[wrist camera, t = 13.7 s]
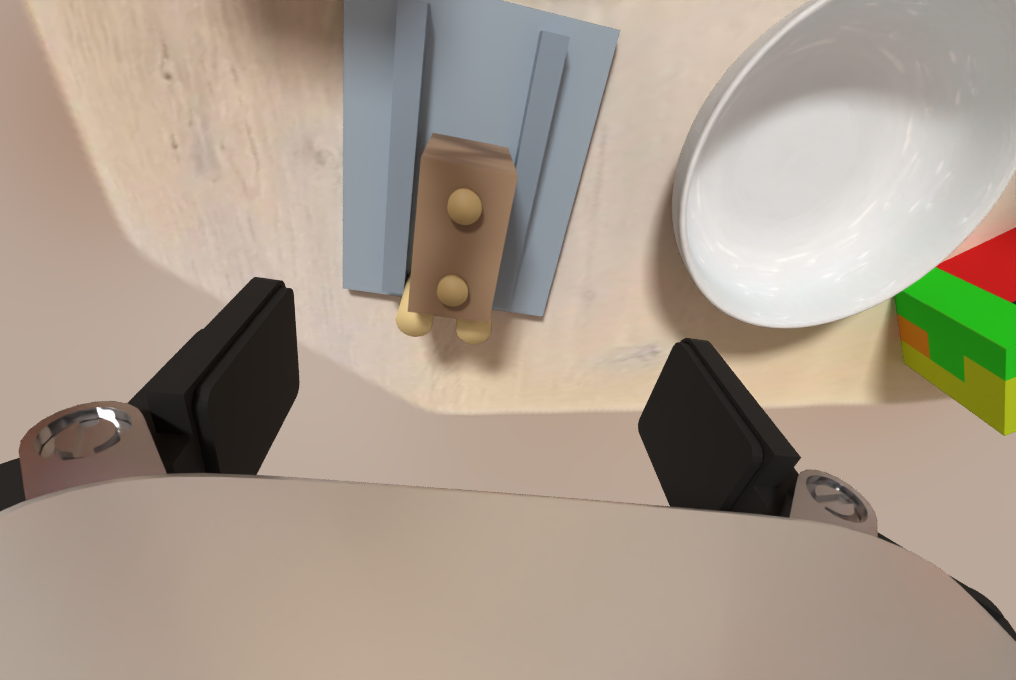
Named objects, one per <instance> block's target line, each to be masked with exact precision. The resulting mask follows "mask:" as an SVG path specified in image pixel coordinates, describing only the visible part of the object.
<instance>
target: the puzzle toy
mask: <svg viewBox="0 0 1016 680" xmlns="http://www.w3.org/2000/svg"><path fill="white" fill-rule="evenodd" d="M895 302H896V309H897V316H898V323H899V330H900V337H901V344H902V351H903V358H904V363H905V364H906V365H907V366H909V367H910V368H912V369H913V370H914V371H916V372H917V373H918V374H920V375H921V376H923V377H924V378H925V379H927V380H928V381H929V382H931V383H932V384H934V385H935V386H936V387H938V388H939V389H940V390H942V391H943V392H945V393H946V394H947V395H949V396H950V397H951V398H953V399H954V400H956V401H957V402H958V403H960V404H961V405H963V406H964V407H965V408H967V409H968V410H969V411H971V412H972V413H973V414H975V415H976V416H978V417H979V418H980V419H982V420H983V421H984V422H986V423H987V424H989V425H990V426H991V427H993V428H994V429H995V430H997V431H998V432H1000V433H1001V434H1002V435H1004V436H1006V435H1008V434H1011V433H1013V432H1016V228H1014V229H1012V230H1010V231H1007V232H1005V233H1003V234H1001V235H999V236H997V237H995V238H993V239H991V240H989V241H986V242H984V243H982V244H980V245H978V246H976V247H974V248H972V249H970V250H967V251H965V252H963V253H961V254H959V255H957V256H955V257H953V258H951V259H949V260H946V261H944V262H942V263H940V264H938V265H937V266H936V267H935V268H934V269H932V270H931V271H930V272H928V273H927V274H926V275H925V276H923V277H922V278H920V279H919V280H918V281H916V282H915V283H913V284H912V285H910V286H909V287H907V288H906V289H904V290H903V291H901V292H899V293H898V294H896V295H895Z"/></svg>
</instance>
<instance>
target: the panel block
mask: <svg viewBox="0 0 1016 680" xmlns="http://www.w3.org/2000/svg"><path fill="white" fill-rule="evenodd" d="M517 177H518V174H517V171H516V169H515V166H514V163H513V160H512V157H511V155H510V152H509V149H508V147H503V146H498V145H493V144H488V143H483V142H478V141H473V140H468V139H463V138H458V137H453V136H448V135H442V134H437V133H432V135H431V137H430V140H429V142H428V144H427V146H426V148H425V150H424V152H423V154H422V156H421V163H420V174H419V186H418V197H417V209H416V220H415V232H414V243H413V255H412V266H411V278H410V289H409V301H408V312H413V313H421V314H428V315H436V316H443V317H451V318H458V319H465V320H473V321H480V322H488V323H489V319H490V314H491V309H492V304H493V299H494V294H495V289H496V284H497V278H498V273H499V268H500V263H501V258H502V253H503V248H504V243H505V238H506V233H507V228H508V223H509V218H510V213H511V208H512V203H513V198H514V192H515V187H516V182H517Z"/></svg>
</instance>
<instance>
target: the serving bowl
mask: <svg viewBox="0 0 1016 680" xmlns="http://www.w3.org/2000/svg"><path fill="white" fill-rule="evenodd" d="M1015 171H1016V0H810V1H809V2H807V3H805V4H803V5H802V6H800V7H799V8H797V9H796V10H794V11H793V12H791V13H790V14H788V15H787V16H785V17H784V18H783V19H781V20H780V21H779V22H777V23H776V24H775V25H773V26H772V27H771V28H770V29H768V30H767V31H766V32H765V33H764V34H763V35H762V36H760V37H759V38H758V39H757V40H756V41H755V42H754V43H752V44H751V45H750V46H749V47H748V48H747V49H746V50H745V51H744V52H743V53H742V54H741V55H740V56H739V57H738V59H737V60H736V61H735V62H734V63H733V64H732V65H731V67H730V68H729V69H728V70H727V71H726V72H725V74H724V75H723V76H722V78H721V79H720V80H719V81H718V83H717V84H716V86H715V87H714V88H713V90H712V91H711V93H710V94H709V96H708V97H707V99H706V101H705V102H704V104H703V105H702V107H701V109H700V110H699V112H698V114H697V116H696V118H695V120H694V122H693V124H692V126H691V128H690V131H689V133H688V135H687V138H686V140H685V143H684V145H683V148H682V151H681V154H680V157H679V161H678V165H677V169H676V173H675V178H674V185H673V196H672V218H673V227H674V233H675V238H676V242H677V246H678V249H679V252H680V255H681V257H682V260H683V262H684V264H685V267H686V269H687V271H688V273H689V274H690V276H691V278H692V280H693V282H694V283H695V285H696V286H697V288H698V289H699V291H700V292H701V293H702V294H703V295H704V297H705V298H706V299H707V300H708V301H709V302H710V303H711V304H713V305H714V306H715V307H716V308H718V309H719V310H721V311H722V312H724V313H725V314H727V315H729V316H731V317H732V318H735V319H737V320H739V321H742V322H745V323H748V324H752V325H756V326H761V327H767V328H780V329H785V328H802V327H810V326H816V325H821V324H825V323H829V322H833V321H836V320H839V319H843V318H846V317H849V316H852V315H854V314H857V313H860V312H862V311H865V310H867V309H869V308H871V307H874V306H876V305H878V304H880V303H882V302H883V301H885V300H887V299H889V298H891V297H893V296H895V295H896V294H898V293H899V292H901V291H903V290H904V289H906V288H907V287H909V286H910V285H912V284H913V283H915V282H916V281H918V280H919V279H920V278H922V277H923V276H925V275H926V274H927V273H928V272H930V271H931V270H932V269H934V268H935V267H936V266H937V265H938V264H940V263H941V262H942V261H943V260H944V259H945V258H946V257H948V256H949V255H950V254H951V253H952V252H953V251H954V250H955V249H956V248H957V247H958V246H959V245H960V244H961V243H962V242H963V241H964V240H965V239H966V238H967V237H968V236H969V235H970V234H971V233H972V232H973V231H974V229H975V228H976V227H977V226H978V225H979V224H980V223H981V221H982V220H983V219H984V218H985V216H986V215H987V214H988V213H989V212H990V210H991V209H992V207H993V206H994V205H995V203H996V202H997V201H998V199H999V198H1000V196H1001V194H1002V193H1003V191H1004V190H1005V188H1006V187H1007V185H1008V183H1009V182H1010V180H1011V178H1012V177H1013V175H1014V173H1015Z"/></svg>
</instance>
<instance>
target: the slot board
mask: <svg viewBox="0 0 1016 680" xmlns="http://www.w3.org/2000/svg"><path fill="white" fill-rule="evenodd" d="M619 33H620V30H617V29H613V28H609V27H605V26H601V25H597V24H593V23H589V22H585V21H581V20H578V19H574V18H570V17H566V16H562V15H558V14H554V13H550V12H546V11H542V10H538V9H534V8H530V7H526V6H522V5H518V4H514V3H510V2H506V1H502V0H344V73H343V288H344V289H351V290H358V291H365V292H372V293H379V294H386V295H393V296H400V297H402V299H401V303H400V306H399V310H398V313H397V317H396V323H397V326H398V328H399V329H400V330H401V331H402V332H403V333H404V334H406V335H409V336H413V337H418V336H422V335H425V334H426V333H428V332H429V331H430V329H431V327H432V324H433V317H434V315H428V314H421V313H413V312H408V301H409V289H410V278H411V266H412V255H413V243H414V232H415V220H416V209H417V197H418V186H419V174H420V163H421V156H422V154H423V152H424V150H425V148H426V146H427V144H428V142H429V140H430V137H431V135H432V133H437V134H442V135H448V136H453V137H458V138H463V139H468V140H473V141H478V142H483V143H488V144H493V145H498V146H503V147H508V149H509V152H510V155H511V157H512V160H513V163H514V166H515V169H516V171H517V174H518V177H517V182H516V187H515V192H514V198H513V203H512V208H511V213H510V218H509V223H508V228H507V233H506V238H505V243H504V248H503V253H502V258H501V263H500V268H499V273H498V278H497V284H496V289H495V294H494V299H493V304H492V310H499V311H506V312H514V313H521V314H528V315H535V316H542V317H543V314H544V310H545V306H546V302H547V299H548V295H549V291H550V288H551V284H552V280H553V277H554V273H555V269H556V266H557V262H558V258H559V254H560V251H561V247H562V243H563V240H564V236H565V232H566V229H567V225H568V221H569V218H570V214H571V210H572V206H573V203H574V199H575V195H576V192H577V188H578V184H579V181H580V177H581V173H582V170H583V166H584V162H585V158H586V155H587V151H588V147H589V144H590V140H591V136H592V133H593V129H594V125H595V122H596V118H597V114H598V110H599V107H600V103H601V99H602V96H603V92H604V88H605V85H606V81H607V77H608V74H609V70H610V66H611V63H612V59H613V55H614V51H615V48H616V44H617V40H618V37H619ZM491 330H492V329H491V314H490V319H489V323H488V322H480V321H473V320H465V319H458V318H457V323H456V332H457V335H458V337H459V338H460V339H461V340H462V341H464V342H466V343H469V344H479V343H482V342H484V341H485V340H487V339H488V337H489V336H490V334H491Z"/></svg>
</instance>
